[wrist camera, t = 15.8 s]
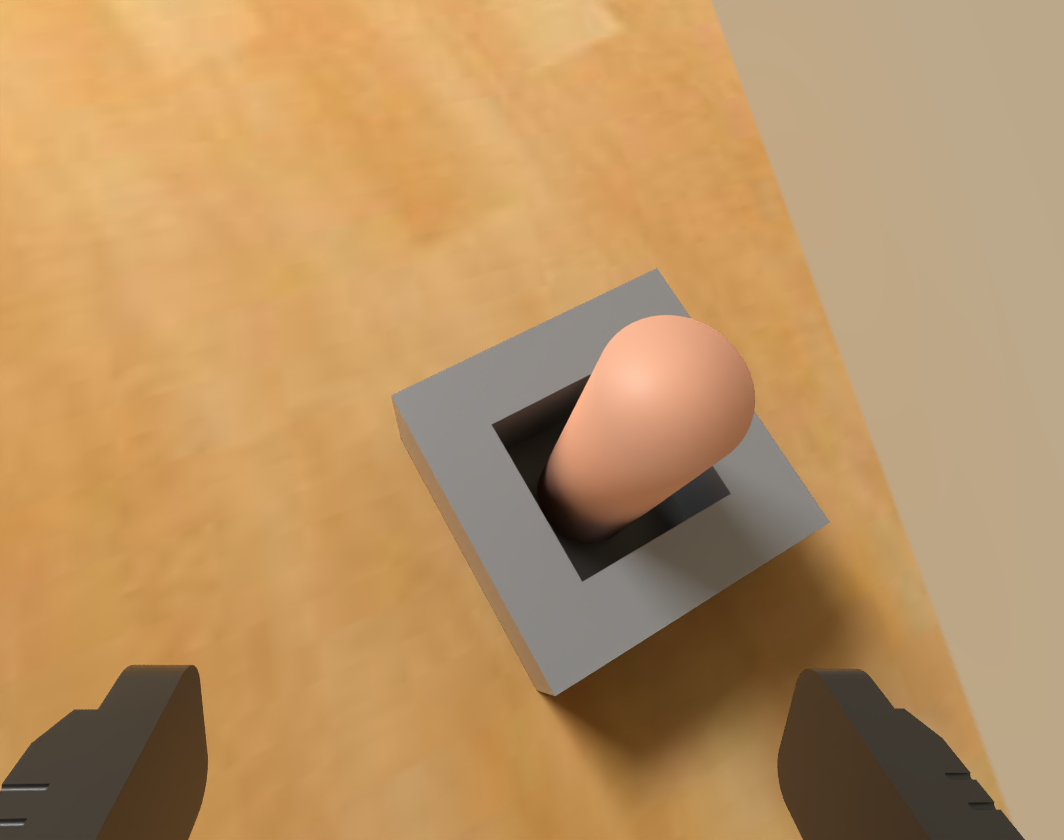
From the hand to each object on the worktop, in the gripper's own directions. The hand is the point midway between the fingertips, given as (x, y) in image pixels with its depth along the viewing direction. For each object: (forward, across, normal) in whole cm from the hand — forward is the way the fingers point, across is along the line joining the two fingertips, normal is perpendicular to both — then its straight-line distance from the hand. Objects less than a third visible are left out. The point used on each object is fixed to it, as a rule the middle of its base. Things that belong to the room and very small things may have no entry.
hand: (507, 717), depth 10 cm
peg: (+18, -5, +6) cm, 19 cm away
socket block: (+18, -5, +6) cm, 20 cm away
